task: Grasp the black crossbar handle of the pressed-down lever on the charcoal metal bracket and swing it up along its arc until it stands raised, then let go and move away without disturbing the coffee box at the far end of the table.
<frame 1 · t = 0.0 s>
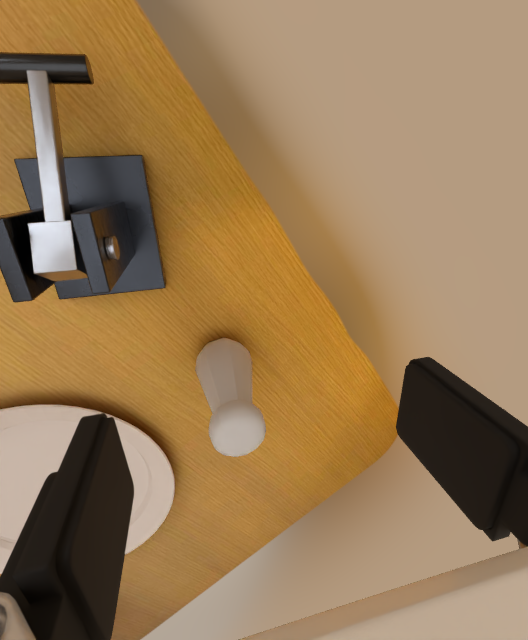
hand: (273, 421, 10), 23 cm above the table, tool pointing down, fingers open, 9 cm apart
bracket: (101, 229, 28), on the table
lever: (51, 165, 19), point 8 cm above the table, hinge at -26.0°
salt shaker: (221, 353, 35), on the table
plate: (61, 484, 37), on the table
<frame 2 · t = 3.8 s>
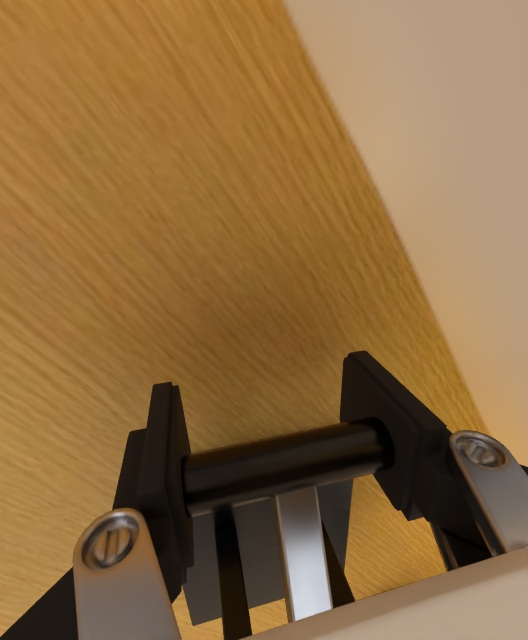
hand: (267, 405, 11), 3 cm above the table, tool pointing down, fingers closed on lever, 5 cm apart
bracket: (262, 520, 17), on the table
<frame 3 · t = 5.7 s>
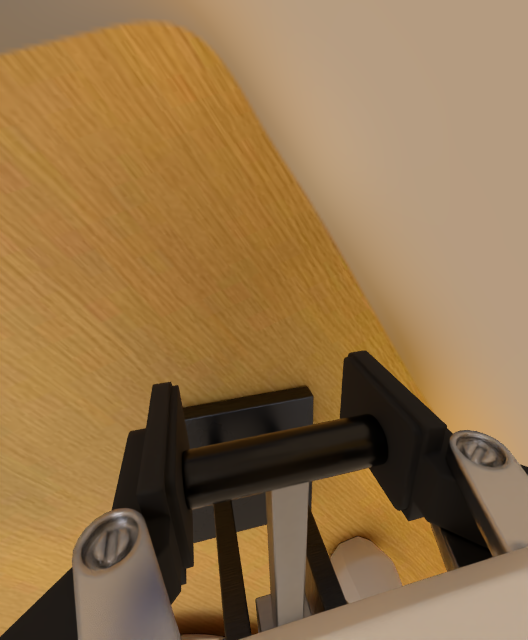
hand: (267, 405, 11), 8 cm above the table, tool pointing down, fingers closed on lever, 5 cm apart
bracket: (246, 460, 23), on the table
lever: (286, 573, 11), point 10 cm above the table, hinge at 2.6°, touching gripper
salt shaker: (350, 549, 30), on the table
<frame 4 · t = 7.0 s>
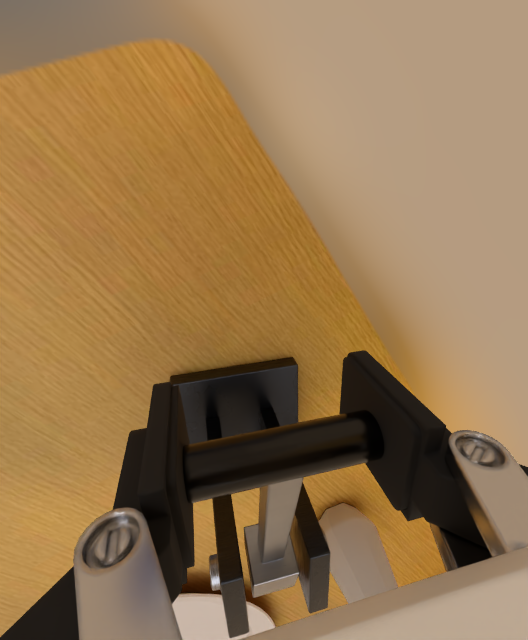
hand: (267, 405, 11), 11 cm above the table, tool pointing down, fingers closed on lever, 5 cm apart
bracket: (239, 425, 25), on the table
lever: (274, 522, 13), point 12 cm above the table, hinge at 18.4°, touching gripper
salt shaker: (336, 515, 33), on the table
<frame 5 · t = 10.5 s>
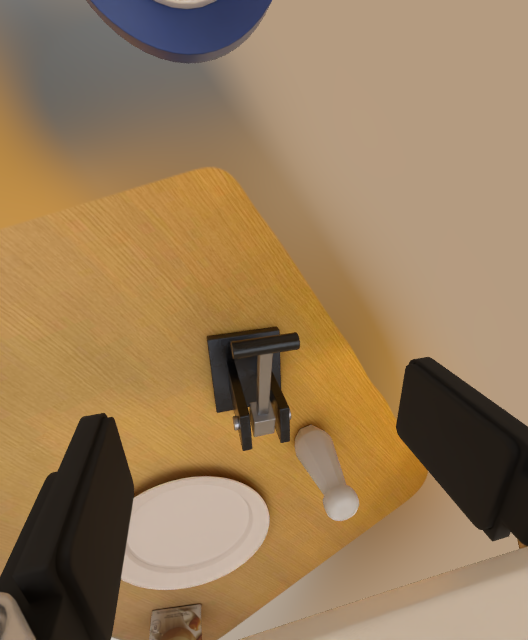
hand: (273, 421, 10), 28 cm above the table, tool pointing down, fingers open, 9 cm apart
bracket: (245, 368, 42), on the table
lever: (263, 388, 30), point 12 cm above the table, hinge at 18.2°
salt shaker: (307, 434, 50), on the table
coffee box: (175, 614, 61), on the table
plate: (190, 524, 52), on the table
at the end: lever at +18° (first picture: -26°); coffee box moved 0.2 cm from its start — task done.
